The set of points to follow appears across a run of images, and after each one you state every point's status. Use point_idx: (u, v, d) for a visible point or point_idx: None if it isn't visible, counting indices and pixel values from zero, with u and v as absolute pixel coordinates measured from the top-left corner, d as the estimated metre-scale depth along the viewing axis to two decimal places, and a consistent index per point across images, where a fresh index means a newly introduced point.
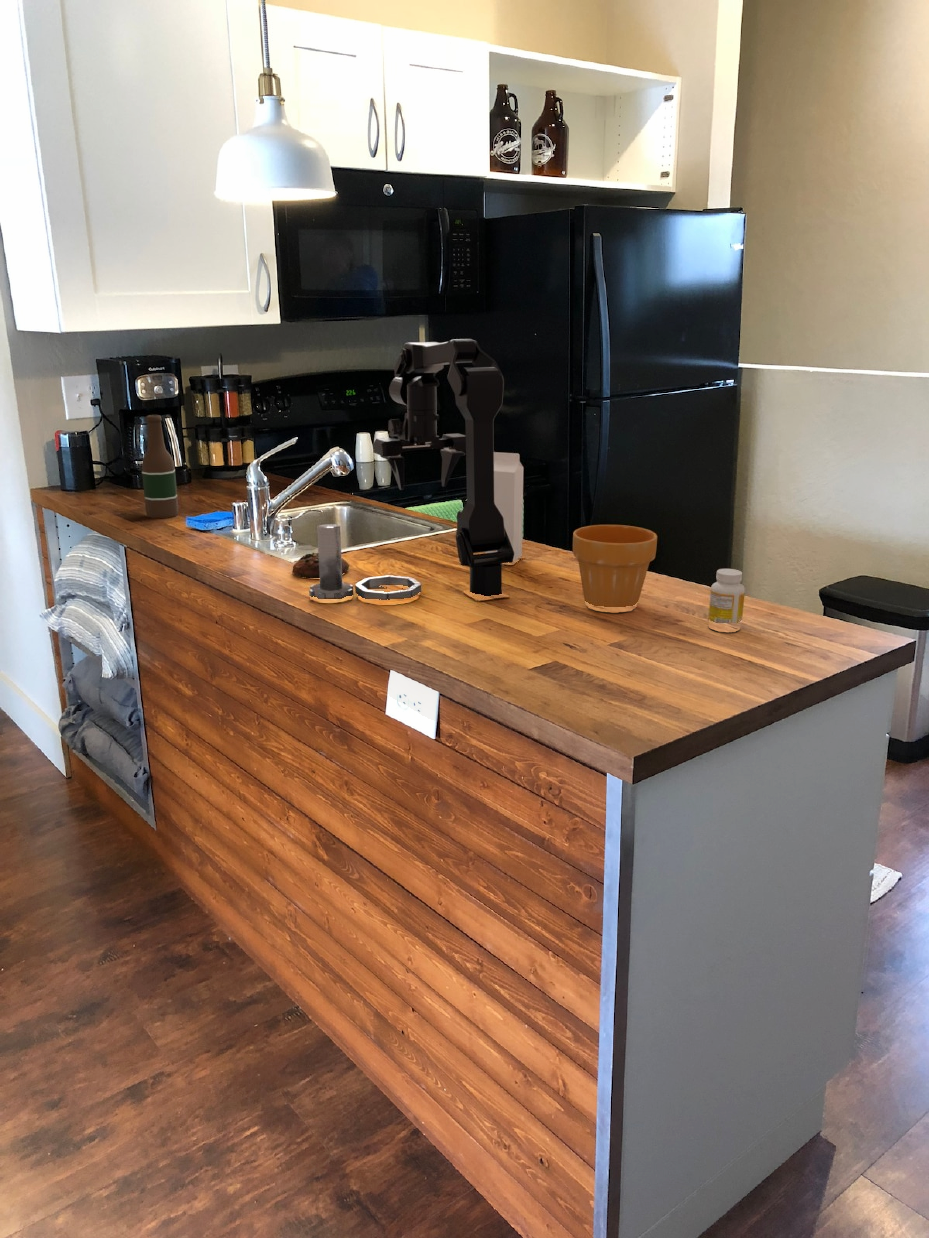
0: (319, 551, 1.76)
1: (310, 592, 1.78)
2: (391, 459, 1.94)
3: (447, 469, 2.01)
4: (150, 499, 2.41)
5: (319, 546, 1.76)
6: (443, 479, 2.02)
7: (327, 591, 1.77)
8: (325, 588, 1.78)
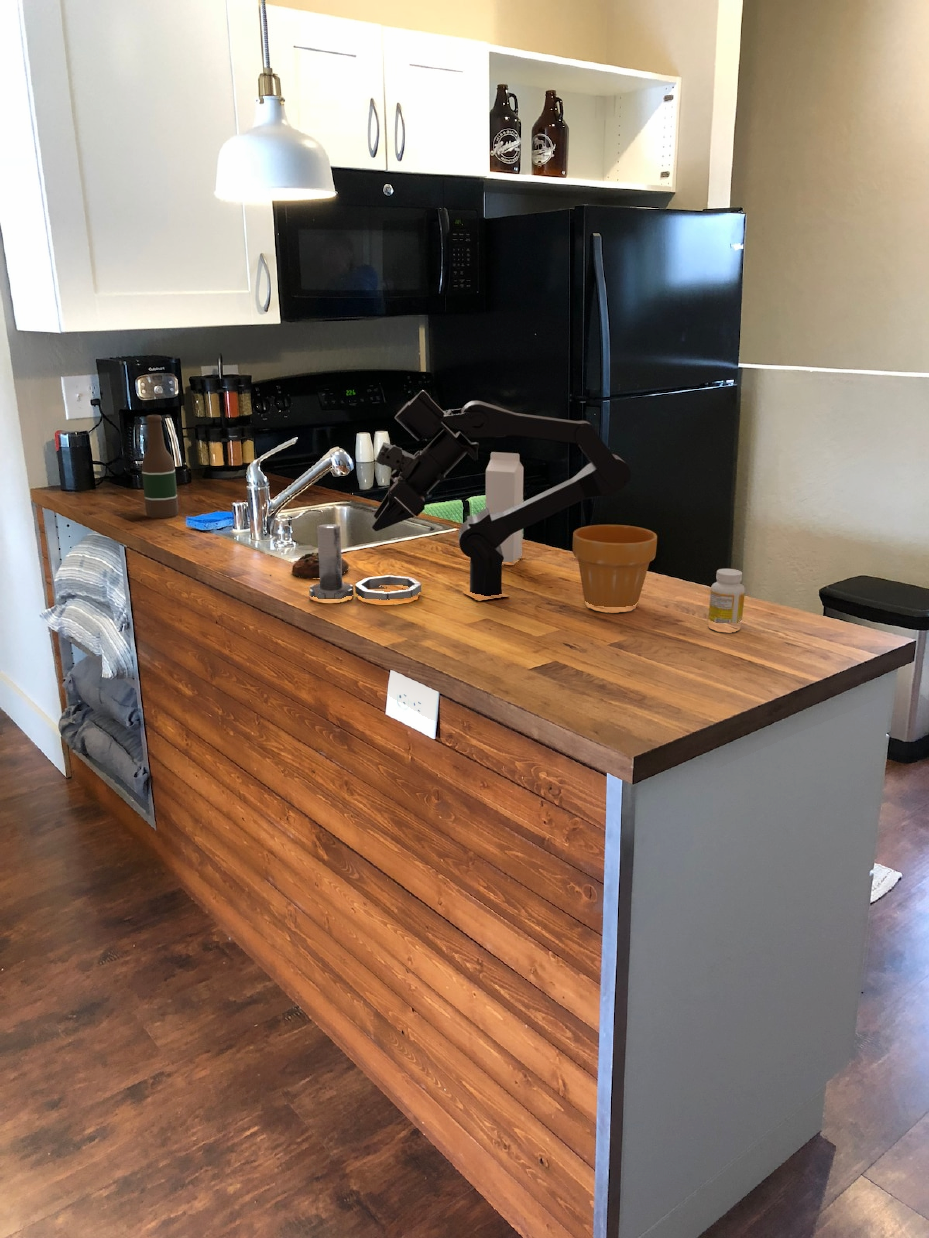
0: (319, 551, 1.76)
1: (310, 592, 1.78)
2: None
3: None
4: (150, 499, 2.41)
5: (319, 546, 1.76)
6: (382, 513, 1.80)
7: (327, 591, 1.77)
8: (325, 588, 1.78)
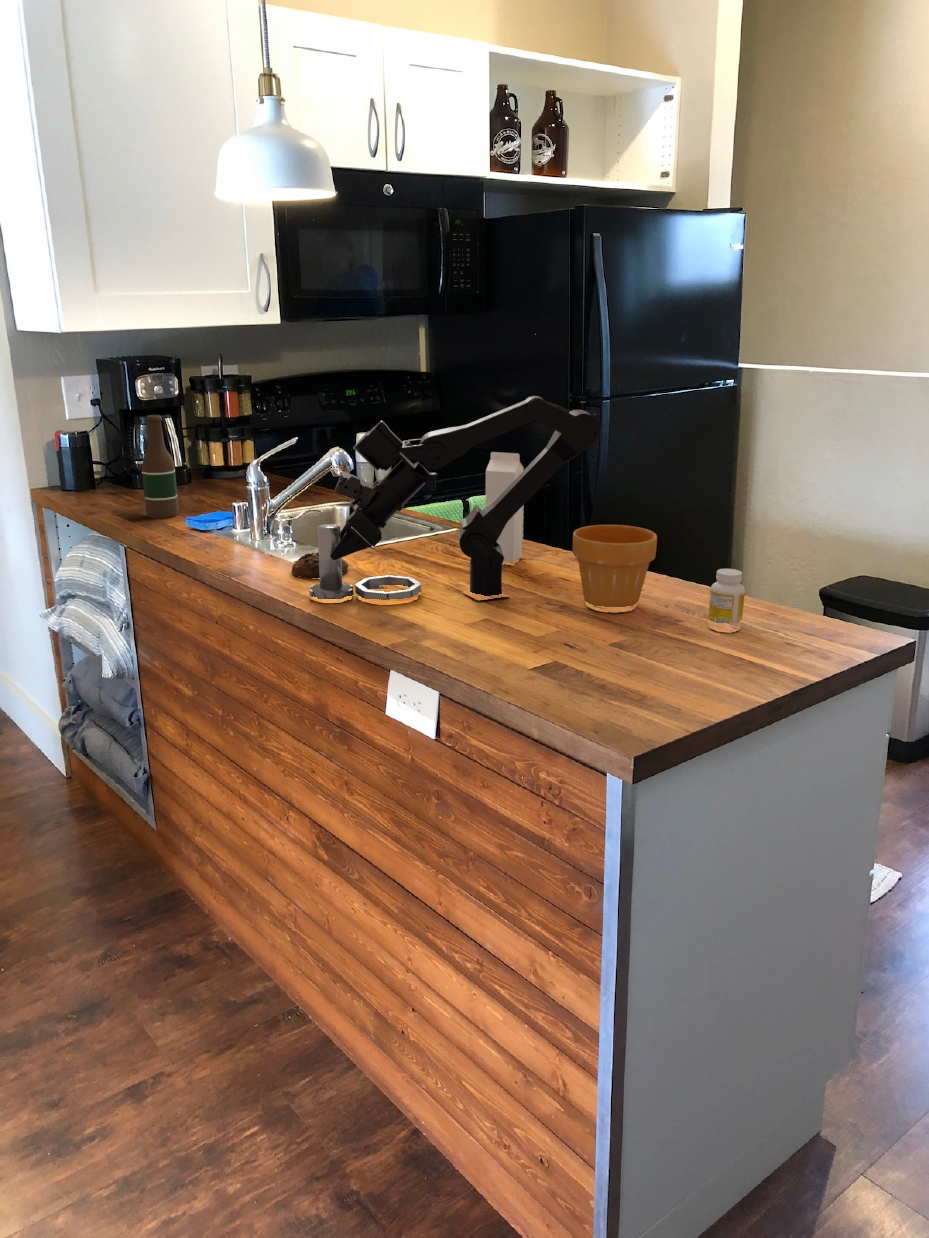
0: (319, 551, 1.76)
1: (310, 592, 1.78)
2: None
3: None
4: (150, 499, 2.41)
5: (319, 546, 1.76)
6: None
7: (327, 591, 1.77)
8: (325, 588, 1.78)
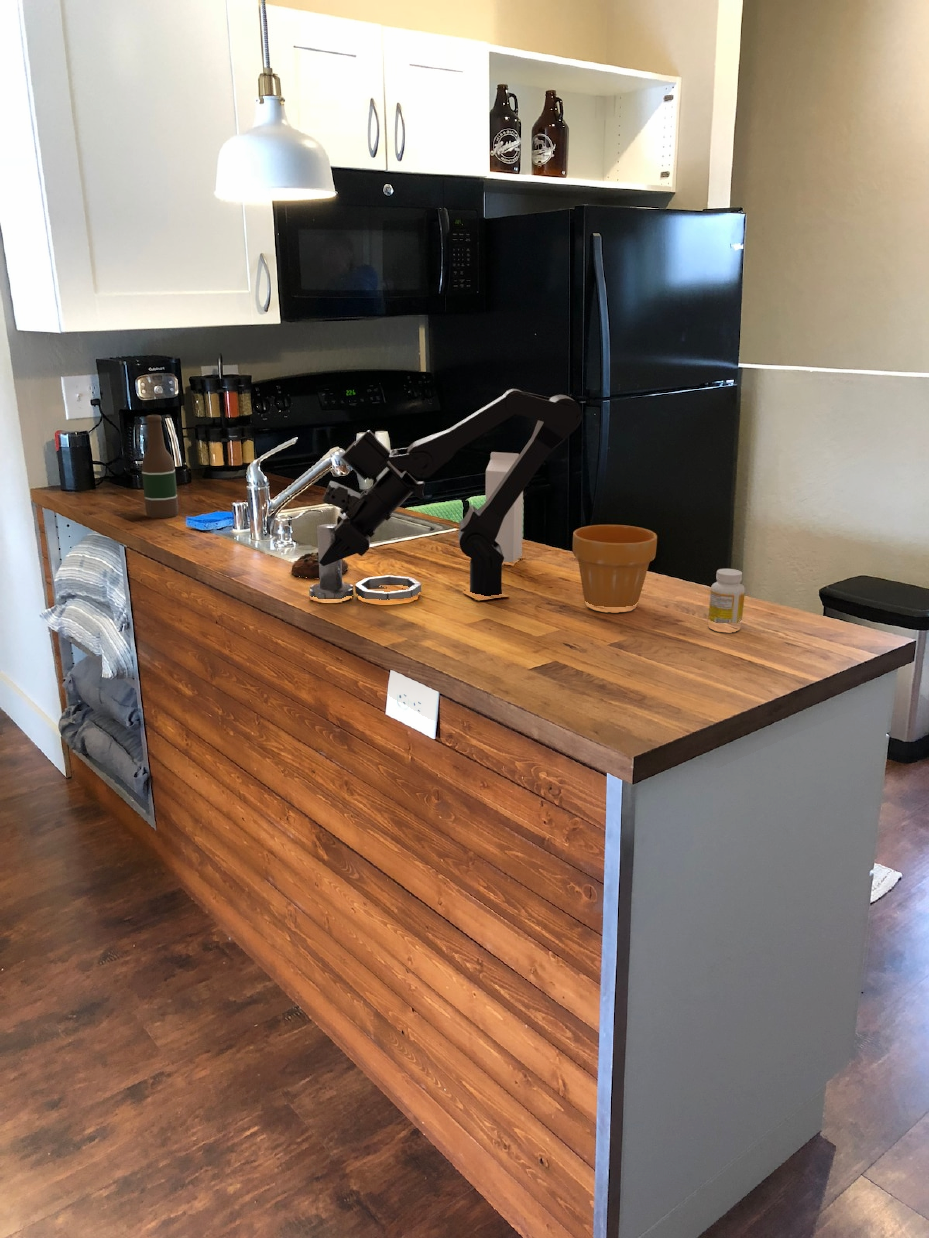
0: (319, 551, 1.76)
1: (310, 592, 1.78)
2: None
3: None
4: (150, 499, 2.41)
5: (319, 546, 1.76)
6: None
7: (327, 591, 1.77)
8: (325, 588, 1.78)
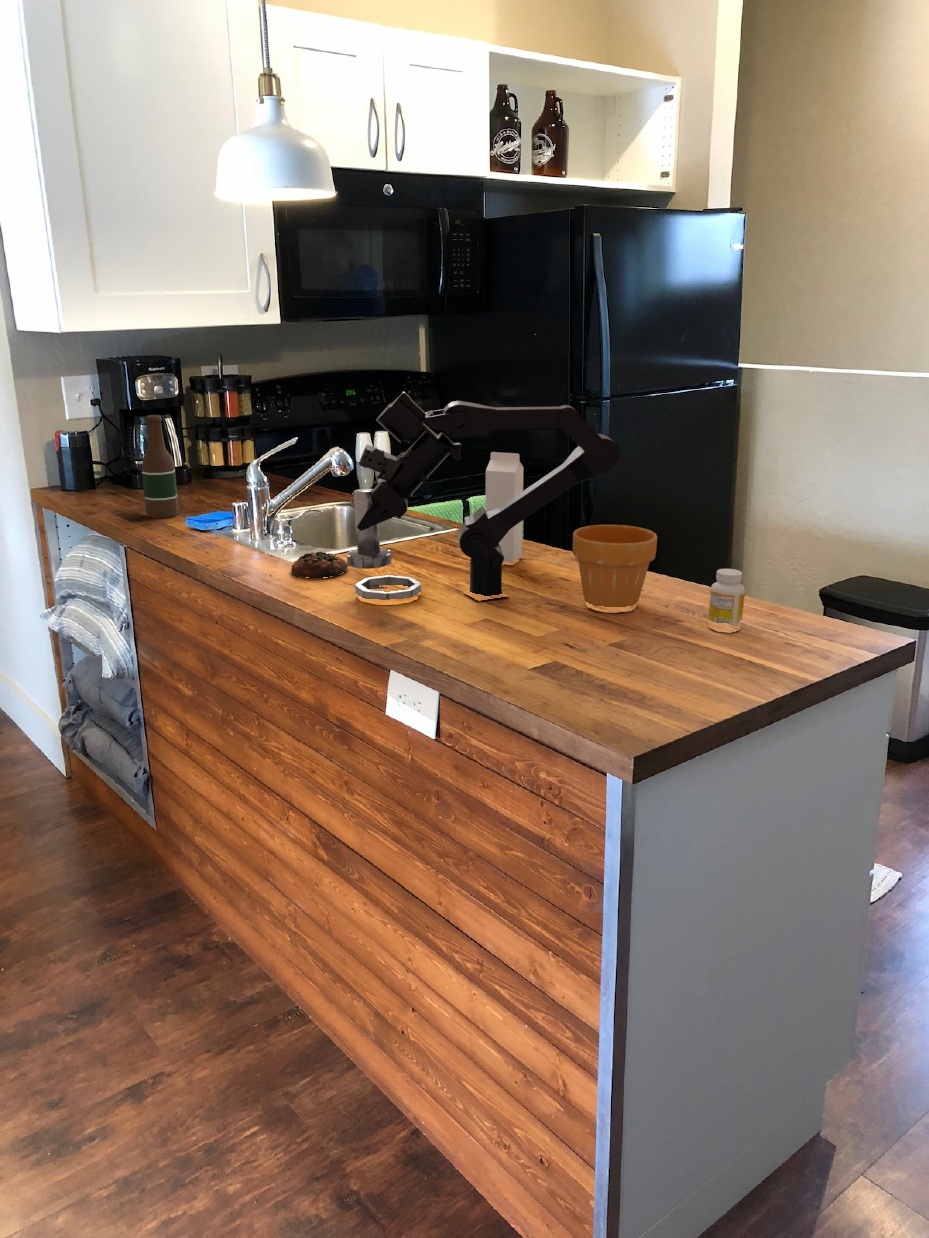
0: (356, 516, 1.75)
1: (348, 557, 1.77)
2: None
3: None
4: (150, 499, 2.41)
5: (356, 511, 1.75)
6: None
7: (365, 556, 1.76)
8: (363, 553, 1.76)
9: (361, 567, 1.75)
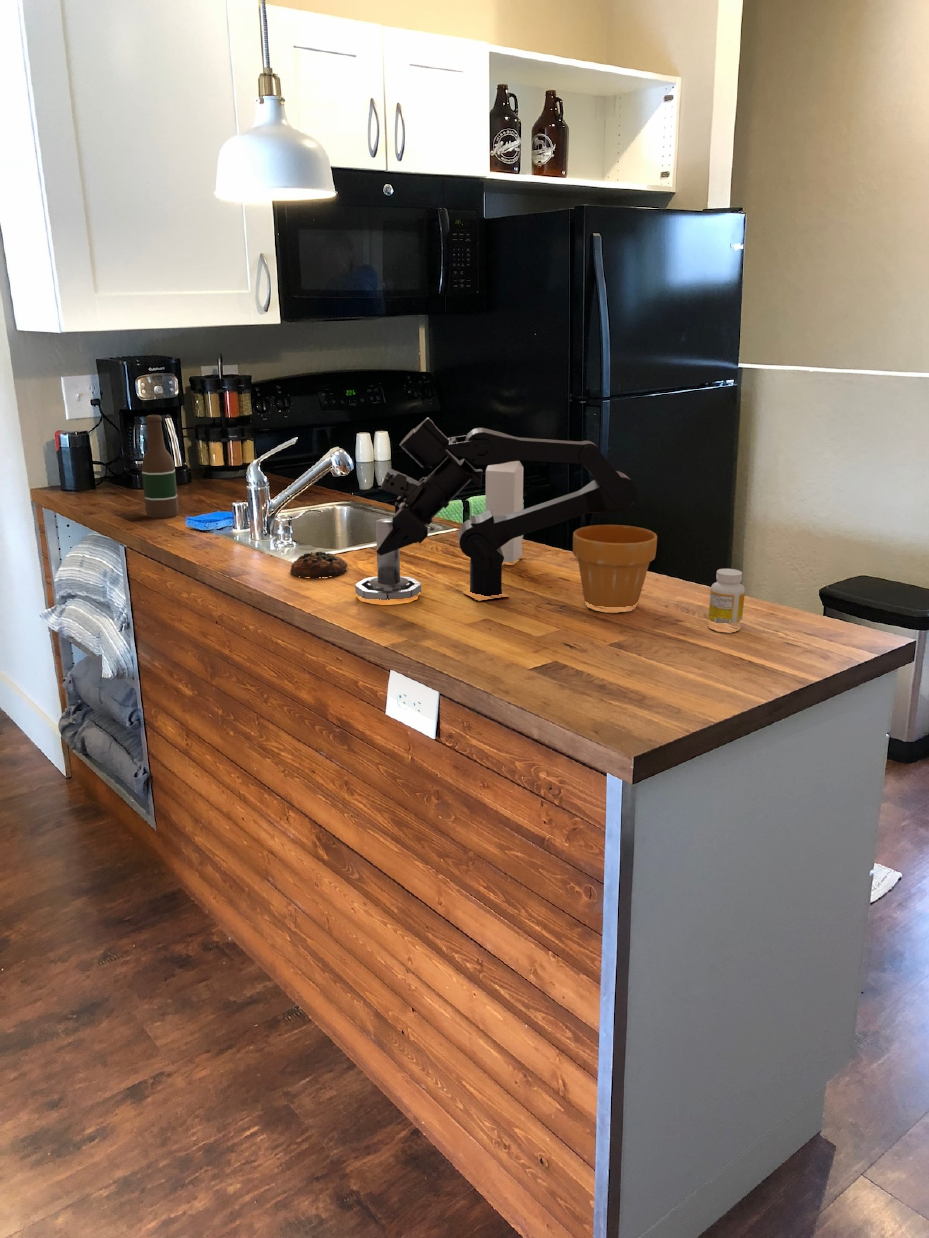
0: (378, 545, 1.77)
1: (368, 586, 1.79)
2: (416, 542, 1.71)
3: None
4: (150, 499, 2.41)
5: (378, 540, 1.77)
6: None
7: (385, 585, 1.78)
8: (383, 582, 1.78)
9: None
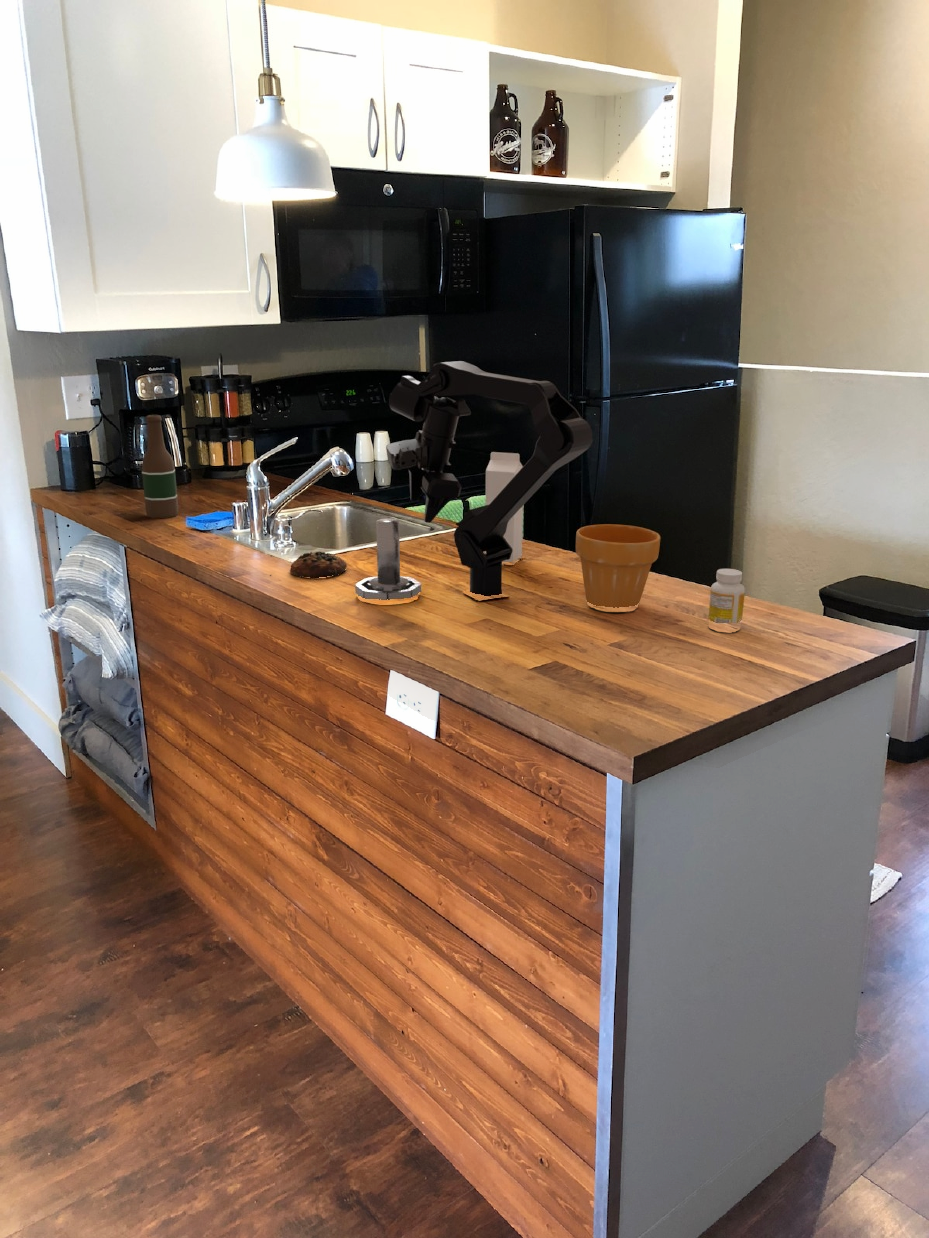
0: (378, 545, 1.77)
1: (368, 586, 1.79)
2: (455, 496, 1.78)
3: None
4: (150, 499, 2.41)
5: (378, 540, 1.77)
6: (416, 494, 1.89)
7: (385, 585, 1.78)
8: (383, 582, 1.78)
9: None
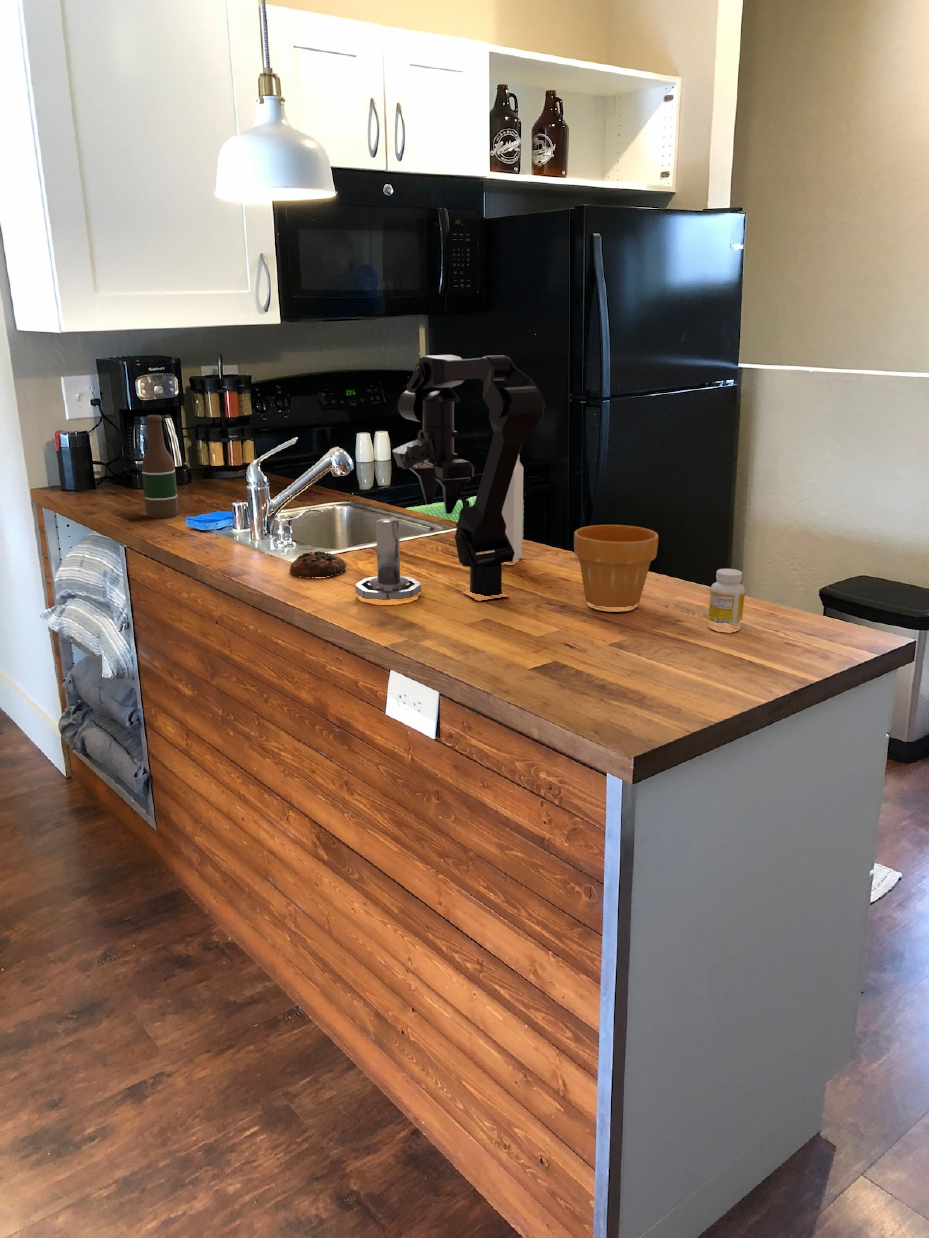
0: (378, 545, 1.77)
1: (368, 586, 1.79)
2: None
3: (435, 484, 1.94)
4: (150, 499, 2.41)
5: (378, 540, 1.77)
6: (430, 497, 1.94)
7: (385, 585, 1.78)
8: (383, 582, 1.78)
9: None
